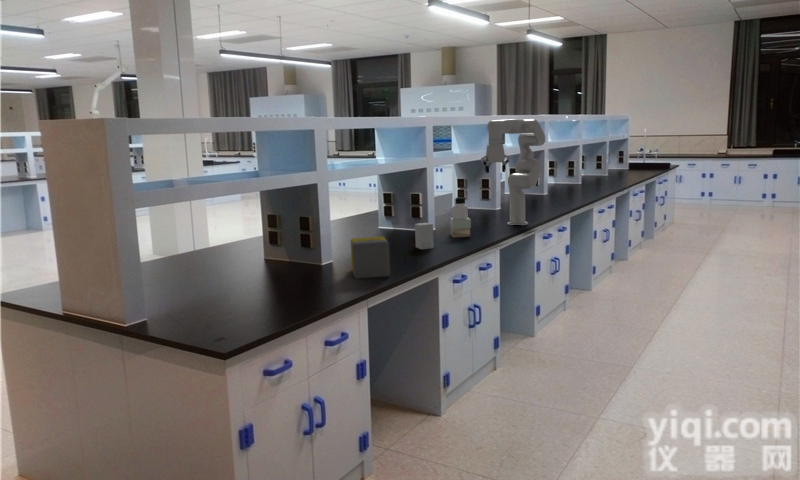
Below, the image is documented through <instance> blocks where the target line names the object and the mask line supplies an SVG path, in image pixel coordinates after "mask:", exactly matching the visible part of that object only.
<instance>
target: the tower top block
mask: <svg viewBox="0 0 800 480" xmlns="http://www.w3.org/2000/svg"><path fill="white" fill-rule="evenodd" d="M449 220H450V221H449V223H450V224H449V225H450V228H451V227H452V228H453V229H462V228H470V229H471V228H472V219H471V218H470V217H467V218H466V219H453V217H449Z"/></svg>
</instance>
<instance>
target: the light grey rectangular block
mask: <svg viewBox="0 0 800 480" xmlns="http://www.w3.org/2000/svg"><path fill="white" fill-rule="evenodd" d="M453 202H454V203H453V204H454V205H453V206H452V208H451V210H452V212H451V213H452V218H453V219H466V218H467V217H468V215H469V212H468V209H469V208H468V205H467V204H466V199H465V197H463V196H462V197H461V196H460V197H454V200H453ZM468 218H469V217H468Z"/></svg>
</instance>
